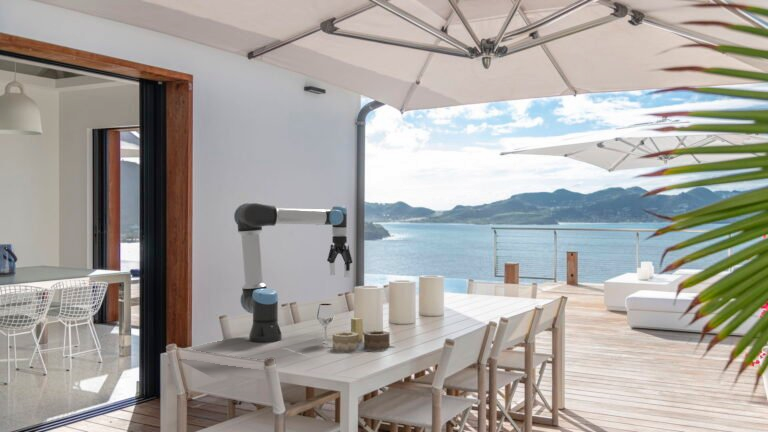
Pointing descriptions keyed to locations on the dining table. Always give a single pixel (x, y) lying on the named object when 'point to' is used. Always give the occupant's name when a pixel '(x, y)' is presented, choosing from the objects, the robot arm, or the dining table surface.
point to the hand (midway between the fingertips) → (339, 276)
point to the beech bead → (345, 341)
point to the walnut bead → (376, 339)
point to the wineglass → (325, 316)
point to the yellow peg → (357, 327)
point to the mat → (360, 349)
